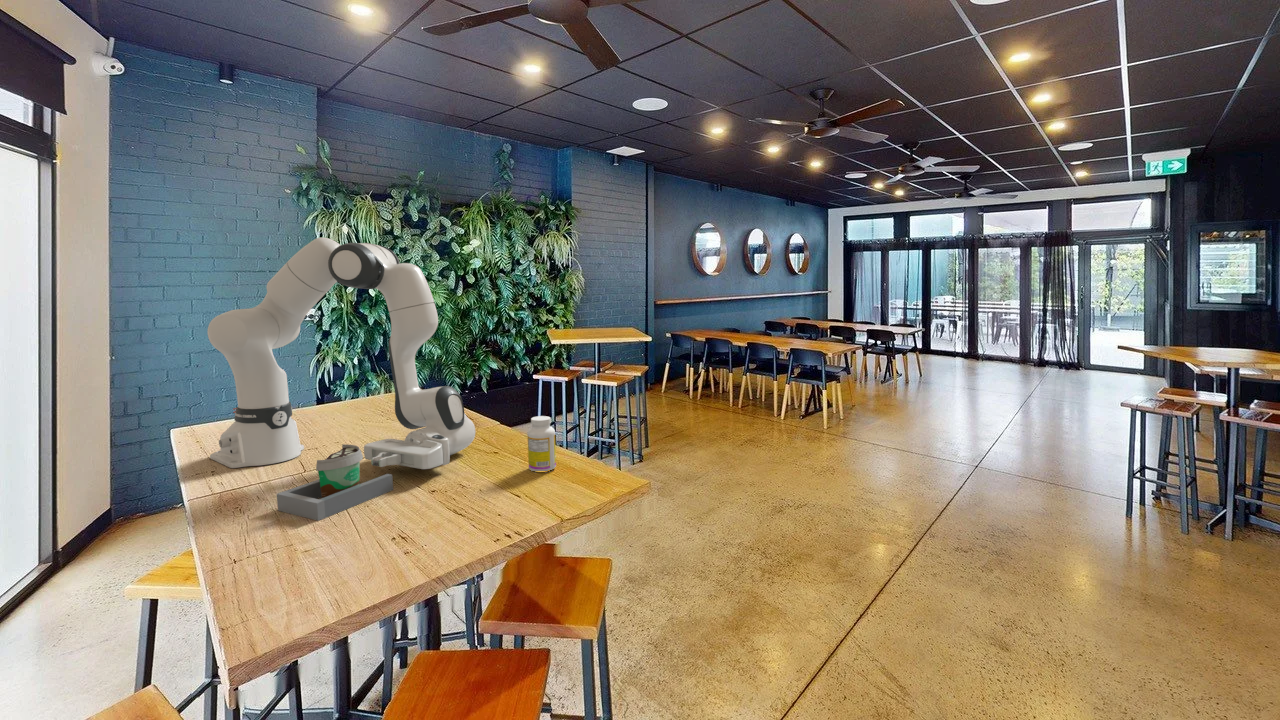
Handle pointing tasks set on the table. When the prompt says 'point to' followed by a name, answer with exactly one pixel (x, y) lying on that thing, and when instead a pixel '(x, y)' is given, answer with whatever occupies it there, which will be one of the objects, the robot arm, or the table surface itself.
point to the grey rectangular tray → (330, 498)
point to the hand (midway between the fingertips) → (375, 463)
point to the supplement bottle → (541, 444)
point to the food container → (339, 470)
